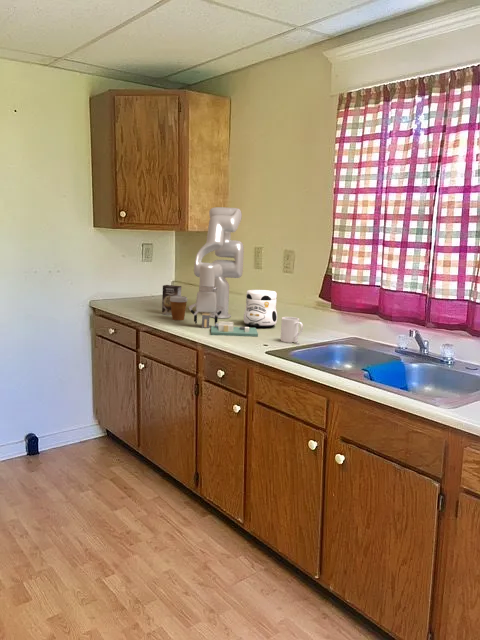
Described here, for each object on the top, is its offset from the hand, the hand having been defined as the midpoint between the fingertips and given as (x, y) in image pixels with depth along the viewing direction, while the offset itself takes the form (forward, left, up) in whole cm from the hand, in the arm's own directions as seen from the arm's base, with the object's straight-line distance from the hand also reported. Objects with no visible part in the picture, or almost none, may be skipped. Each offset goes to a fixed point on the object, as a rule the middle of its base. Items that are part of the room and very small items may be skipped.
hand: (205, 323), depth 281 cm
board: (+11, +14, -2) cm, 18 cm away
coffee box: (-35, -20, -2) cm, 40 cm away
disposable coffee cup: (-19, -15, -2) cm, 24 cm away
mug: (+28, +40, -2) cm, 49 cm away
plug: (0, 0, -2) cm, 2 cm away
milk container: (-9, +28, -2) cm, 29 cm away
